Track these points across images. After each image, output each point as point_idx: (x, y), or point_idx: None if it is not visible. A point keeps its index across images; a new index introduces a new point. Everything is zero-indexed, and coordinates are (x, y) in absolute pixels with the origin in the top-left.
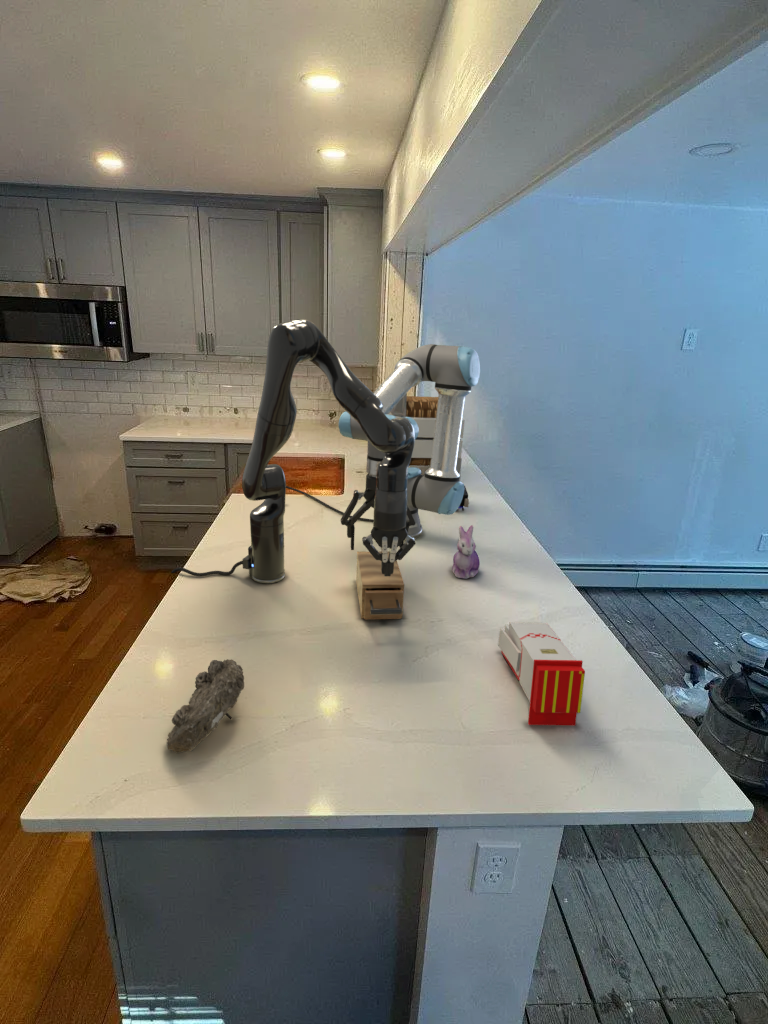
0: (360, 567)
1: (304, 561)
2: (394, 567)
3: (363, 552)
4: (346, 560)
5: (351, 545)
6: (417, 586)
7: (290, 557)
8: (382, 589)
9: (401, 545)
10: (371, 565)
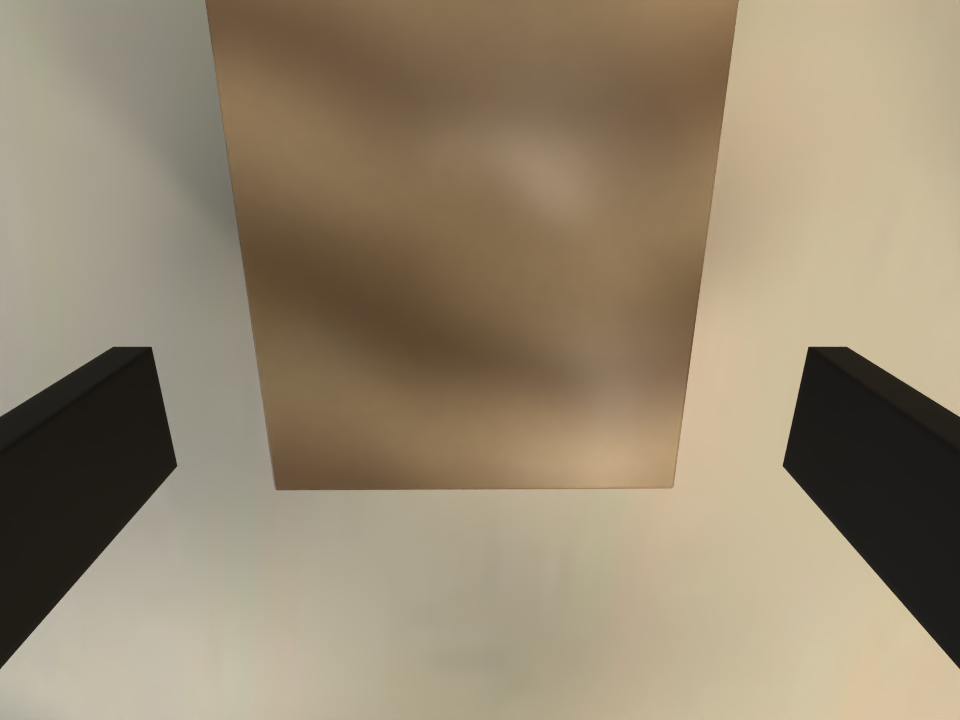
0: (720, 51)
1: (880, 624)
2: (272, 40)
3: (609, 465)
4: (621, 633)
5: (887, 374)
6: (166, 284)
7: (950, 668)
8: None
9: (98, 374)
10: (569, 111)
